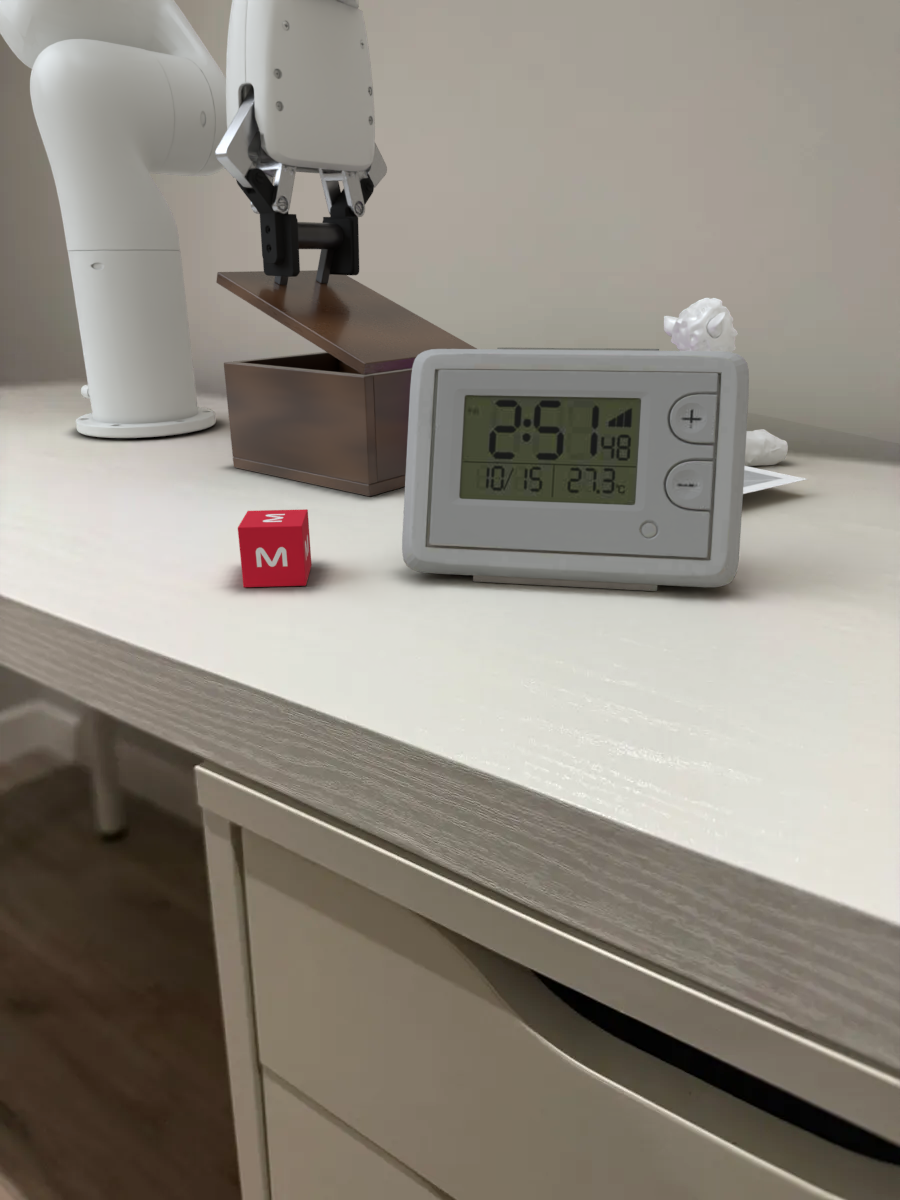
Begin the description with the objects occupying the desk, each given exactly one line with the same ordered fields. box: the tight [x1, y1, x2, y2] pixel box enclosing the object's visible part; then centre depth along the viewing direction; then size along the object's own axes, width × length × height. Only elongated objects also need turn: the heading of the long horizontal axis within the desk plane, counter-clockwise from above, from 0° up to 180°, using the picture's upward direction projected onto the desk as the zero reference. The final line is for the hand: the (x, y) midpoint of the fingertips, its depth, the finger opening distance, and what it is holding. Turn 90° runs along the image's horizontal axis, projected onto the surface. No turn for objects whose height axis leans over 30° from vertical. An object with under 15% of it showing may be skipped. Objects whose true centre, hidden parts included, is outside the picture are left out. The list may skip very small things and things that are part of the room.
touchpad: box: [743, 466, 809, 495], centre depth 57 cm, size 8×15×2 cm, turn 125°
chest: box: [223, 351, 412, 497], centre depth 66 cm, size 15×12×8 cm
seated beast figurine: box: [663, 297, 789, 467], centre depth 66 cm, size 10×9×12 cm
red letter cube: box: [237, 508, 313, 588], centre depth 43 cm, size 3×3×3 cm
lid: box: [215, 221, 478, 375], centre depth 62 cm, size 15×12×5 cm
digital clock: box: [401, 347, 750, 592], centre depth 42 cm, size 16×9×11 cm, turn 69°
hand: (312, 272), depth 64 cm, fingers closed on lid, 5 cm apart
